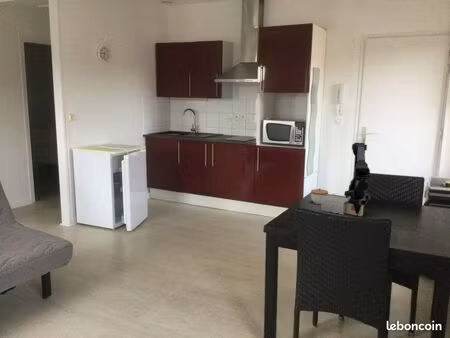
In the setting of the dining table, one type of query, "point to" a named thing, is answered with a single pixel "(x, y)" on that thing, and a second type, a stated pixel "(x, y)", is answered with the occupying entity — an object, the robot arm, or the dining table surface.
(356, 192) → the robot arm
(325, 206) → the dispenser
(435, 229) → the dining table surface
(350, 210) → the beige rectangular box
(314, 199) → the lidded jar
